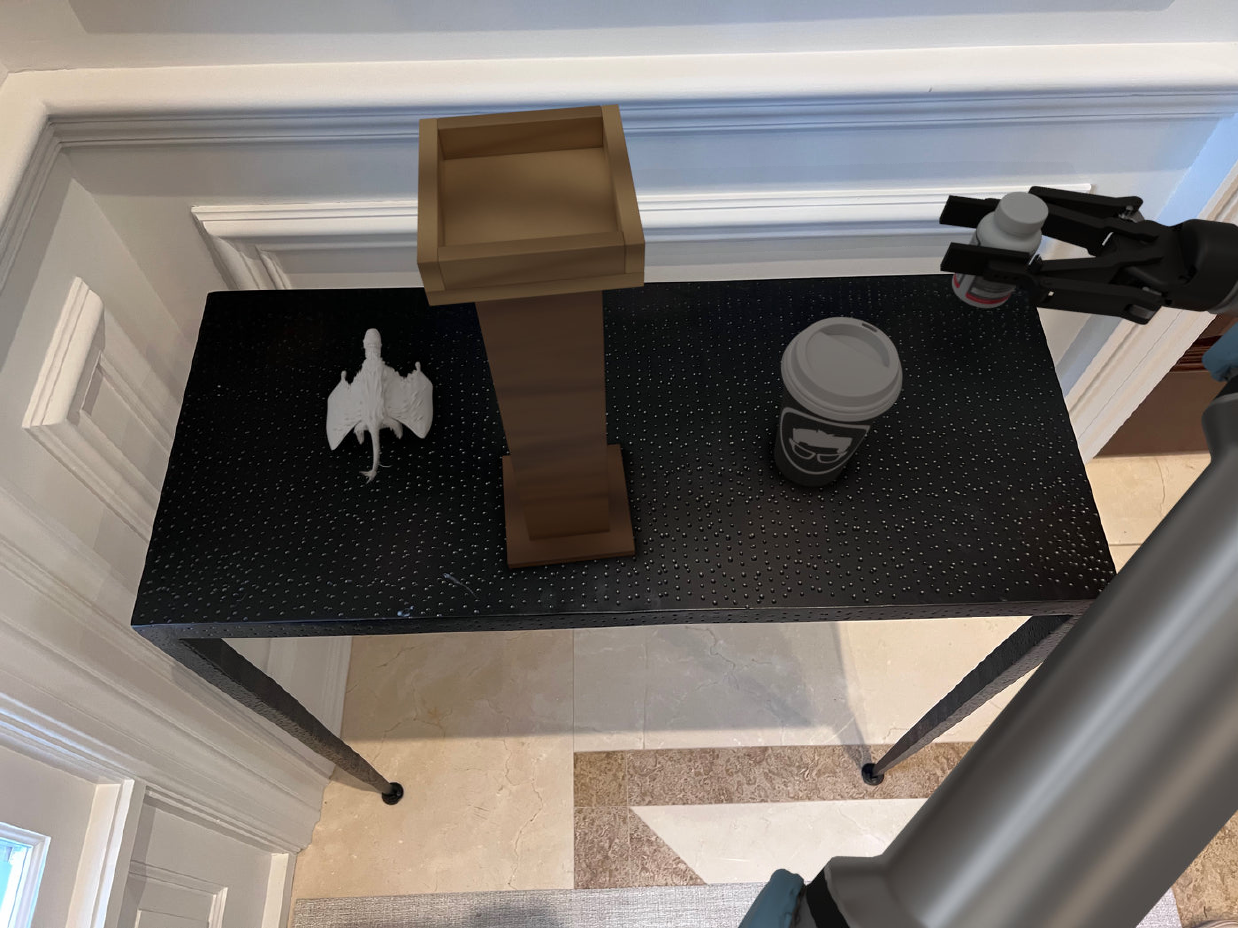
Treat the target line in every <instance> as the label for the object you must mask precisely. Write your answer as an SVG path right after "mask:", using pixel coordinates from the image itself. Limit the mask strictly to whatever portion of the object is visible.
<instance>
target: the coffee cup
mask: <svg viewBox="0 0 1238 928" xmlns="http://www.w3.org/2000/svg"><path fill="white" fill-rule="evenodd" d="M780 362H781V363H780V372H781V377H782V380H783V389H782V397H781V401H780V402H781V403H780V410H779V416H778V423H777V429H776V430H777V431H776V436H775V442H774V449H773V459H774V462H775V464H776V467H777V468H778V470H779V471H780V473H781V474H782V475H783V476H784V477H785V478H787V479H788V480H789V481H791V482H792V483H795V484H797V485H799V486H800V485H801V486H804V487H811V488H813V487H822V486H826V485H828V484H830V483H832V482H833V481H835V480H836V479H837V478H838V477H839V476H840V474H841V473H842V471H843V470H844V469H845V467H846V465H847V464H848V462H849V461H850V459H851V458H852V456H853V454H854V453H855V452H856V450H857V449H858V447H859V446H860V444H861V443H862V441H863V440H864V438H865V437H866V435H867V434H868V432H869V431H870V429H871V428H872V426H873V425H874V424H875V422H876V420H877V419H878V417H879V416H880V415H881V414H883V413H885V412H887V411H888V410H889V409H890V408H891V407H892V406H893V405H894V404H895V402H896V401H897V400H898V398H899V396H900V393H901V391H902V387H903V369H902V364H901V360H900V357H899V354H898V350H897V348H896V346H895V344H894V343H893V341H892V340H891V339H890V338H889V336H888V335H887V334H886V333H884V331H882V330H881V329H879V328H878V327H877V326H875V325H873V324H871V323H869V322H867V321H864V320H862V319H858V318H855V317H854V318H853V317H847V316H846V317H845V316H836V317H828V318H824V319H820V320H818V321H816V322H814V323H812V324H810V325H809V326H808V327H806V328H805V329H803V330H802V331H800V332H799V333H798V334H797V335H796V336H795V337H794V338H793V339H792V340H791V341H790V342H789V344H787V346H786V348H785V350H784V352H783V354H782V357H781V361H780Z"/></svg>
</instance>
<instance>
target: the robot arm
mask: <svg viewBox="0 0 1238 928" xmlns="http://www.w3.org/2000/svg"><path fill="white" fill-rule="evenodd" d="M1027 193H1030V194H1032V195H1035V196H1037V197H1038V198H1040V199H1041V200H1042V201H1044V203H1045V204H1046V205H1047V207H1048V216H1047V218H1046V220H1045V221H1044V224H1043V226H1042V227H1041V228H1040V229H1041V233H1042V237H1043V236H1044V237H1047V238H1050V239H1052V240H1057V241H1060V242H1062V243H1066V244H1070V245H1072V246H1076V247H1079V248H1082V249H1085V250H1086V251H1087V252H1086V253H1087V254H1088V255H1089V256H1087V257H1071V258H1056V259H1043V258H1042V256H1041V254H1040V253H1037V254H1035V255H1034V256H1033V258H1032V260H1031V261H1030V263H1029V264H1027V263H1028V261H1029V259H1030V254H1029V252H1023V251H1015V250H1008V249H1000V248H993V247H985V246H978V245H970V244H969V243H963V242H962V243H961V242H955V241H950V243H949V246H948V247H947V250H946V251H945V254H944V256H943V258H942V260H941V263H940V265H939V268H940V269H939V270H940V272H943V273H944V272H945V273H951V274H955V273H958V274H965V275H972V276H980V277H983V279H984V280H986V281H989V282H996V283H1003V284H1010V285H1016V287H1017V286H1018V287H1019V289H1021V290H1022V291H1024V292H1026V293H1027V295H1028V298H1027V300H1026V301H1027V304H1028V305H1029V306H1030V307H1033V308H1036V309H1045V310H1053V311H1062V312H1071V313H1080V314H1087V315H1088V314H1089V315H1096V316H1107V317H1113V318H1114V317H1115V318H1120V319H1123V320H1125V321H1128V322H1131V323H1134V324H1137V325H1140V326H1146V325H1148V324H1149V323H1150V322H1151V320H1152V319H1153V318H1154V317H1155V316H1156V314H1157V313H1158V312H1159V311H1160V309H1161V308H1162V307H1163V308H1168V309H1174V310H1175V309H1176V310H1182V311H1190V312H1197V313H1203V312H1206V313H1208V314H1210V315H1214V316H1215V315H1216V316H1223V317H1234V318H1238V225H1237V224H1235V223H1233V222H1224V221H1217V220H1210V219H1202V218H1190V219H1187V220H1183V221H1182V222H1179V223H1176V224H1173V225H1166V224H1163V223H1160V222H1157V221H1156V220H1152V219H1146V218H1145V216H1144V215H1143V214H1142V212H1141V211H1140V208H1141V207H1142V206H1143V204H1144V200H1143V198H1142V197H1140V196H1137V195H1128V196H1117V197H1116V196H1109V195H1101V194H1095V193H1088V192H1082V191H1076V190H1075V191H1074V190H1067V189H1062V188H1054V187H1048V186H1040V185H1032V186H1030V188H1029V189H1028V191H1027ZM1001 199H1002V198H996V197H984V198H977V197H970V196H961V195H954V194H949V195H948V198H947V200H946V202H945V203H944V207H943V209H942V211H941V213H940V216H939V218H938V224H939V225H942V226H951V227H960V228H966V229H973V230H974V229H975V230H976V229H977V227H978V225H979V223H980V221H981V220H982V219H983V218H984V217H985V216H986V215H988V214H989V213H991V212H994V211H995V210H996V208H997V206H998V204H999V202H1000V200H1001ZM1090 256H1091V257H1090ZM1051 293H1052V294H1051ZM1201 364H1202V365H1203V367H1204V369H1206V370H1207V371H1208V372H1209V374H1210V377H1211V379H1212V380H1215V381H1216V382H1218V383H1224V382H1226V383H1225V385H1224V386H1223V387H1222V388H1221V390H1220V391H1219V392H1218V393H1217V394H1216V396H1215V397H1214V398H1213V399H1212V400H1211V402H1210V403H1209V404H1208V405H1207V407H1206V408H1205V409H1204V410H1203V412H1202V415H1201V419H1200V420H1201V421H1200V422H1201V428H1202V431H1203V435H1204V438H1205V442H1206V445H1207V448H1208V453H1209V456H1210V462H1209V463H1208V464H1207V466H1206V467H1205V468H1204V469H1203V471H1201V473H1200V474H1199V475H1198V477H1196V479H1195V480H1194V481H1193V482H1192V484H1191V485H1190V486H1189V487H1188V489H1187V490H1186V491H1185V492H1184V493H1183V494H1182V496H1181V497H1180V498H1178V500H1177V501H1176V502H1175V504H1174V505H1173V506H1172V507H1171V508H1170V510H1169V511H1167V513H1166V514H1165V516H1164V517H1163V518H1162V519H1161V520H1160V522H1158V524H1157V525H1156V527H1154V529H1153V530H1152V531H1151V533H1149V535H1148V536H1147V537H1146V538H1145V539H1144V541H1142V543H1141V544H1140V545H1139V547H1138V548H1137V549H1136V550H1135V551H1134V553H1133V554H1132V555H1131V556H1130V558H1129V559H1128V560H1127V561H1126V562H1125V563H1124V564H1123V566H1122V567H1120V569H1119V570H1118V572H1117V573H1116V574H1115V576H1113V578H1112V579H1110V581H1109V582H1108V584H1107V585H1106V586H1105V587H1104V589H1102V590H1101V592H1100V593H1099V594H1098V596H1097V597H1096V598H1095V599H1094V600H1093V601H1092V603H1091V604H1090V605H1089V606H1088V607H1087V609H1086V610H1085V611H1084V612H1083V614H1082V615H1080V617H1079V618H1078V619H1077V621H1076V622H1074V624H1073V625H1072V627H1071V628H1070V629H1069V630H1068V631H1067V633H1066V634H1065V635H1064V636H1063V637H1062V638H1061V640H1060V641H1059V642H1058V643H1057V645H1056V646H1054V648H1053V649H1052V650H1051V652H1050V653H1049V654H1048V655H1047V656H1046V658H1045V659H1044V660H1043V661H1042V662H1041V663H1040V665H1039V666H1038V667H1037V668H1036V669H1035V671H1034V672H1033V673H1032V674H1031V676H1030V677H1029V678H1028V679H1027V680H1026V681H1025V683H1024V684H1023V685H1022V686H1021V687H1020V689H1018V691H1017V692H1016V693H1015V695H1014V696H1013V697H1012V698H1011V699H1010V700H1009V702H1008V703H1007V704H1006V705H1005V706H1004V707H1003V709H1002V710H1001V711H1000V713H999V714H998V715H997V716H996V717H995V719H994V720H993V721H992V722H991V724H989V726H988V727H987V728H986V729H985V730H984V732H983V733H982V734H981V735H980V736H979V737H978V739H977V740H976V741H974V743H973V745H972V746H971V747H970V748H969V750H967V752H966V753H965V754H964V755H963V756H962V757H961V759H960V760H959V761H958V762H957V764H956V765H955V766H954V767H953V769H952V770H951V771H950V772H949V773H948V774H947V775H946V777H945V778H944V779H943V780H942V782H940V783H939V785H938V786H937V787H936V789H935V790H934V791H933V792H932V793H931V794H930V796H929V797H928V798H927V799H926V800H925V802H924V803H923V805H922V806H921V807H920V808H919V809H918V810H917V811H916V812H915V814H914V815H913V816H912V817H911V818H910V820H909V821H908V822H907V823H906V825H905V826H904V827H903V828H902V829H901V830H900V832H899V833H897V835H896V836H895V838H894V839H893V840H892V841H891V843H890V844H889V845H888V846H887V847H886V848H885V850H884V851H883V852H882V853H881V854H878V855H873V856H853V855H852V856H851V855H848V856H847V855H836V856H833V857H831V858H830V859H829V860H828V861H827V863H825V865H824V866H823V867H822V868H821V869H820V871H819V872H818V873H817V874H816V875H815V877H814V878H813V879H812V880H811V882H809V883H808V884H805V879H804V878H803V877H802V875H800V873H794V872H792V871H790V870H788V869H786V868H778V869H776V870H775V871H773V872H772V874H771V875H770V878H769V879H768V881H767V883H766V884H765V885H764V886H763V888H762V889H761V890H760V892H759V893H758V895H757V896H756V898H754V901H752V903H751V905H750V907H749V909H748V910H747V912H746V913H745V915H744V916H743V918H742V920H741V921H740V923H739V925H738V926H737V928H1137V927H1138V926H1139V925H1140V924H1141V922H1142V921H1143V920H1144V919H1145V918H1146V917H1147V916H1148V915H1149V913H1150V912H1151V911H1152V910H1153V909H1154V907H1155V906H1156V905H1157V904H1158V903H1159V902H1160V900H1162V898H1163V897H1164V896H1165V895H1166V893H1167V892H1168V891H1169V890H1170V889H1171V888H1172V887H1173V886H1174V884H1175V883H1176V882H1177V881H1178V880H1179V879H1180V878H1181V876H1182V875H1183V874H1184V873H1185V872H1186V870H1187V869H1188V868H1189V867H1190V866H1191V865H1192V864H1193V862H1194V861H1195V860H1196V859H1197V858H1198V857H1199V856H1200V854H1201V853H1202V852H1204V850H1205V849H1206V848H1207V846H1208V845H1209V844H1210V843H1211V842H1212V841H1213V839H1214V838H1215V837H1216V836H1217V835H1218V834H1219V832H1221V830H1222V829H1223V828H1224V827H1225V826H1226V824H1227V823H1229V821H1230V820H1231V819H1232V818H1233V817H1234V815H1235V814H1236V813H1237V812H1238V321H1236V322H1235V323H1234V324H1233V325H1231V327H1230V328H1229V329H1228V330H1226V332H1225V333H1223V334H1222V336H1221V337H1219V339H1218V340H1217V341H1215V342H1214V343H1213V344H1212V346H1210V347H1209V349H1207V350H1206V351H1205V352H1204V353H1203V355H1202V357H1201Z"/></svg>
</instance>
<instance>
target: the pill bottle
mask: <svg viewBox="0 0 1238 928" xmlns="http://www.w3.org/2000/svg"><path fill="white" fill-rule="evenodd" d="M1000 199H1001V200H1000V202H999V204H998V206H997V208H996V210H995V211H994V212H991V213H989V214H988V215H986V216H985V217H984V218H983V219H982V220H981V221H980V223H979V225H978V227H977V229H975V230H974V233H973V235H972V237H971V239H970V241H969V243H968V244H970V245H978V246H985V247H993V248H1000V249H1008V250H1015V251H1023V252H1029V254H1030V259H1029V261H1028V263H1027V264H1031V262H1032V260H1033V259H1034V257H1035V255H1036V253H1037V252H1038V250H1039V249H1040V246H1041V245H1042V240H1043V235H1042V233H1041V229H1040V228H1041V227H1042V226H1043V224H1044V221H1045V220H1046V218H1047V216H1048V207H1047V205H1046V204H1045V203H1044V201H1042V200H1041V199H1040V198H1038V197H1037V196H1035V195H1032V194H1030V193H1028V192H1025V191H1012V192H1009V193H1007V194H1005V195H1003V197H1001V198H1000ZM951 286H952V290H953V292H954V294H955V295H956V296H957V297H958V298H959V299H960V300H961V301H962V302H965V303H966V304H967V305H970V306H973V307H976V308H980V309H993V308H994V309H995V308H997V307H1000V306H1002V305H1004V304H1005V303H1006V301H1008V299H1009V298H1010V296H1011V295H1012V293H1013V291H1014V290H1015V288H1016V287H1017V285H1010V284H1003V283H996V282H989V281H986V280H984V279H983V277H980V276H972V275H965V274H958V273H953V276H952V278H951Z"/></svg>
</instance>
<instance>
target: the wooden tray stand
mask: <svg viewBox="0 0 1238 928" xmlns="http://www.w3.org/2000/svg"><path fill="white" fill-rule="evenodd" d="M417 161H418V165H417V172H418V173H417V221H416V222H417V225H416V226H417V227H416V232H417V233H416V265H417V268H418V273H419V275H420V278H421V282H422V285H423V288H424V289H423V290H424V292H425V295H426V298H427V301H428V305H429V306H430V307H433V306H442V305H443V306H444V305H454V304H464V303H474V304H475V308H476V309H475V310H476V312H477V313H476V314H477V317H478V321H479V326H480V330H481V331H480V332H481V335H482V339H483V343H484V348H485V352H486V357H487V360H488V365H489V369H490V374H491V378H492V383H493V388H494V391H495V396H496V400H497V405H498V409H499V413H500V417H501V421H502V426H503V430H504V435H505V439H506V443H507V448H508V452H509V453H508V454H509V455H502V457H501V459H502V478H503V499H504V518H505V535H506V537H505V538H506V554H507V557H506V558H507V566H508V569H520V568H528V567H529V568H530V567H538V566H547V565H556V564H565V563H573V562H582V561H590V560H591V561H593V560H601V559H608V558H618V557H626V556H627V557H628V556H634V555H636V547H635V540H634V533H633V532H634V531H633V526H632V519H631V512H630V505H629V497H628V491H627V483H626V476H625V470H624V463H623V455H622V450H621V449H622V448H621V444H620V443H617V444H608V436H607V405H606V403H607V402H606V401H607V399H606V372H605V339H604V336H605V335H604V333H605V332H604V306H603V305H604V304H603V300H604V299H603V291H606V290H608V291H609V290H618V289H629V288H639V287H644V286H645V269H646V267H645V266H646V265H645V264H646V238H645V234H644V228H643V224H642V219H641V214H640V207H639V203H638V202H639V201H638V197H637V192H636V188H635V187H636V186H635V183H634V182H635V181H634V177H633V171H632V167H631V162H630V156H629V151H628V147H627V140H626V137H625V132H624V127H623V122H622V115H621V111H620V106H619V104H618V103H612V104H602V105H600V104H599V105H597V104H595V105H583V106H571V107H560V108H547V109H533V110H520V111H508V112H496V113H481V114H469V115H457V116H444V117H443V116H442V117H430V118H429V117H428V118H419V119H418V160H417Z"/></svg>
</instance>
